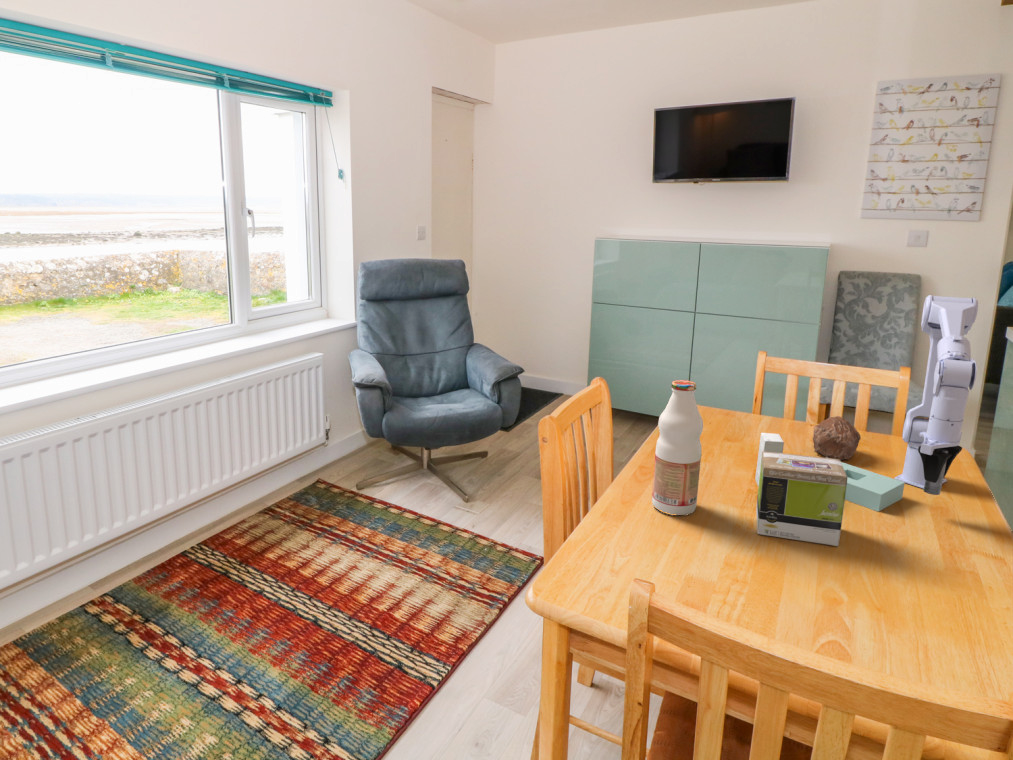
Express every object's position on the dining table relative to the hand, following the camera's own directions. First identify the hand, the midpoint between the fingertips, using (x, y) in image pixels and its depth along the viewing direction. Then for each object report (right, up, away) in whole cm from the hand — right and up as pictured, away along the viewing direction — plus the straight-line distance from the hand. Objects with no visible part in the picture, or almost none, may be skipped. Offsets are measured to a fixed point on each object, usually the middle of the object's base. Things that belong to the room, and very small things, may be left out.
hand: (934, 479), depth 137 cm
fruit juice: (-53, -7, +5) cm, 54 cm away
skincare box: (-29, -4, +17) cm, 33 cm away
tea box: (-31, -10, -4) cm, 33 cm away
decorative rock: (-3, +1, +36) cm, 36 cm away
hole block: (-10, -5, +14) cm, 18 cm away
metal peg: (0, -3, +1) cm, 3 cm away
